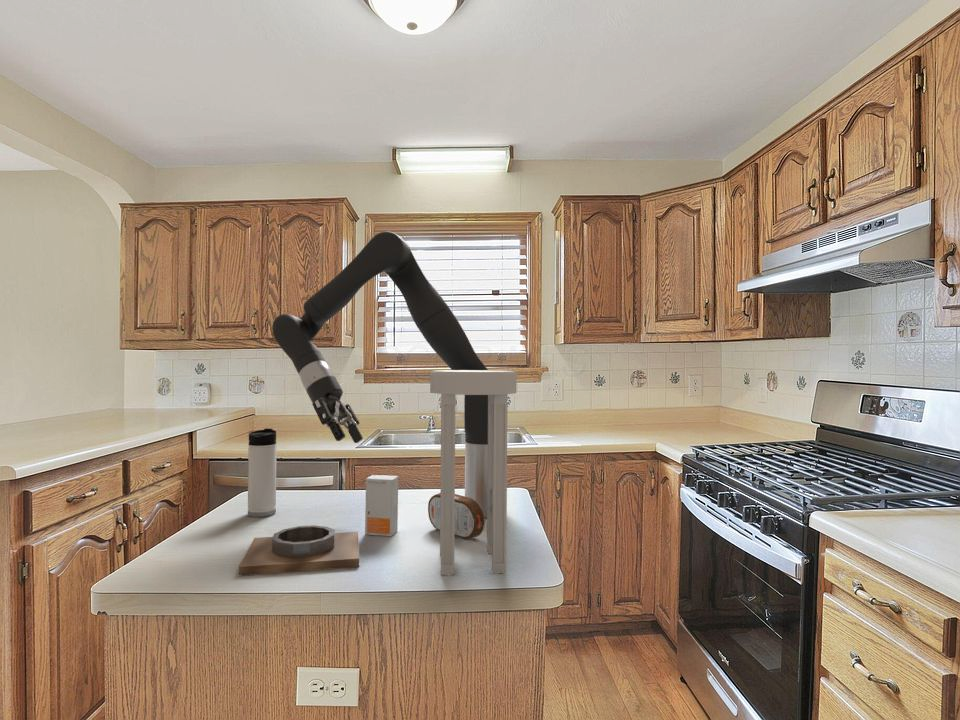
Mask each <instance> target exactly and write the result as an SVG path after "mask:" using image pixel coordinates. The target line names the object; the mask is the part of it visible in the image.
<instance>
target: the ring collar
mask: <svg viewBox="0 0 960 720" xmlns="http://www.w3.org/2000/svg"><path fill="white" fill-rule="evenodd" d="M335 533H336V531H335V530H334V529H333V528H330V527H329V526H325V525H324V526H322V525H314V524H313V525H297V526H294V527H293V526H292V527H288V528H284V529H281V530H279V531H277V532H275V533H273V535H272V537H273V538H272V553H274V554H275V555H277V556H279V557H287V558H304V557H312V556H316V555H320V554H324V553H327V552H328V551H330V550H332V549H333V548H334V542H335ZM299 540H313V541H307V542H295V541H299Z"/></svg>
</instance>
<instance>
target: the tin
mask: <svg viewBox="0 0 960 720" xmlns="http://www.w3.org/2000/svg"><path fill="white" fill-rule="evenodd" d="M440 497H441V492H439V493H436V494H434V495H432V496H431V497H430V498H429V500H428V504H427V511H428V513H427V515H428V519H429V522H430V523H431V525H432V526H433V528H434V529H435V530H436V531H438V530H439V531H438V532H440ZM485 522H486V521H485V517H484V514H483V511H482V509H481V507H480V506H479V504H478V503H477V502H476V501H475V500H474V499H472V498H469V497H465V495H461V494H460V495H459V494H456V493H455V522H454V537H456V536H457V537H456V538H458V537H460V538H459V539H461V538H463V540H471V539H473V538H478V537H479V536H481V535H482V533H483V531H484V528H485Z"/></svg>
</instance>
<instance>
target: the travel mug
mask: <svg viewBox="0 0 960 720" xmlns="http://www.w3.org/2000/svg"><path fill="white" fill-rule="evenodd" d="M247 448H248V450H247V451H248V452H247V453H248V454H247V456H248V457H247V462H248V463H247V474H248V475H247V516H249V517H250V518H265V517H266V518H267V517H270V516H273V515H275V514H276V511H277V509H276V508H277V507H276V506H277V430H274V429H273V428H268V427H267V428H264V429H257V430H253V431H251V432H249V433H248V447H247Z"/></svg>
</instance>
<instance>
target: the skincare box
mask: <svg viewBox="0 0 960 720" xmlns="http://www.w3.org/2000/svg"><path fill="white" fill-rule="evenodd" d="M364 509H365V511H364V513H365V517H364V518H365V521H364V522H365V523H364V534H365V535H367V536H370V535H371V536H381V537H382V536H383V537H384V536H385V537H390V538H391V537H393V536H394V535H395V534H396V533H397V532H398V527H399V526H398V525H399V522H398V518H399V517H398V516H399V476H398V475H387V474H386V475H385V474H383V475H381V474H371V475H370V476H368V477H367V478H366V479H365V508H364Z"/></svg>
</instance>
